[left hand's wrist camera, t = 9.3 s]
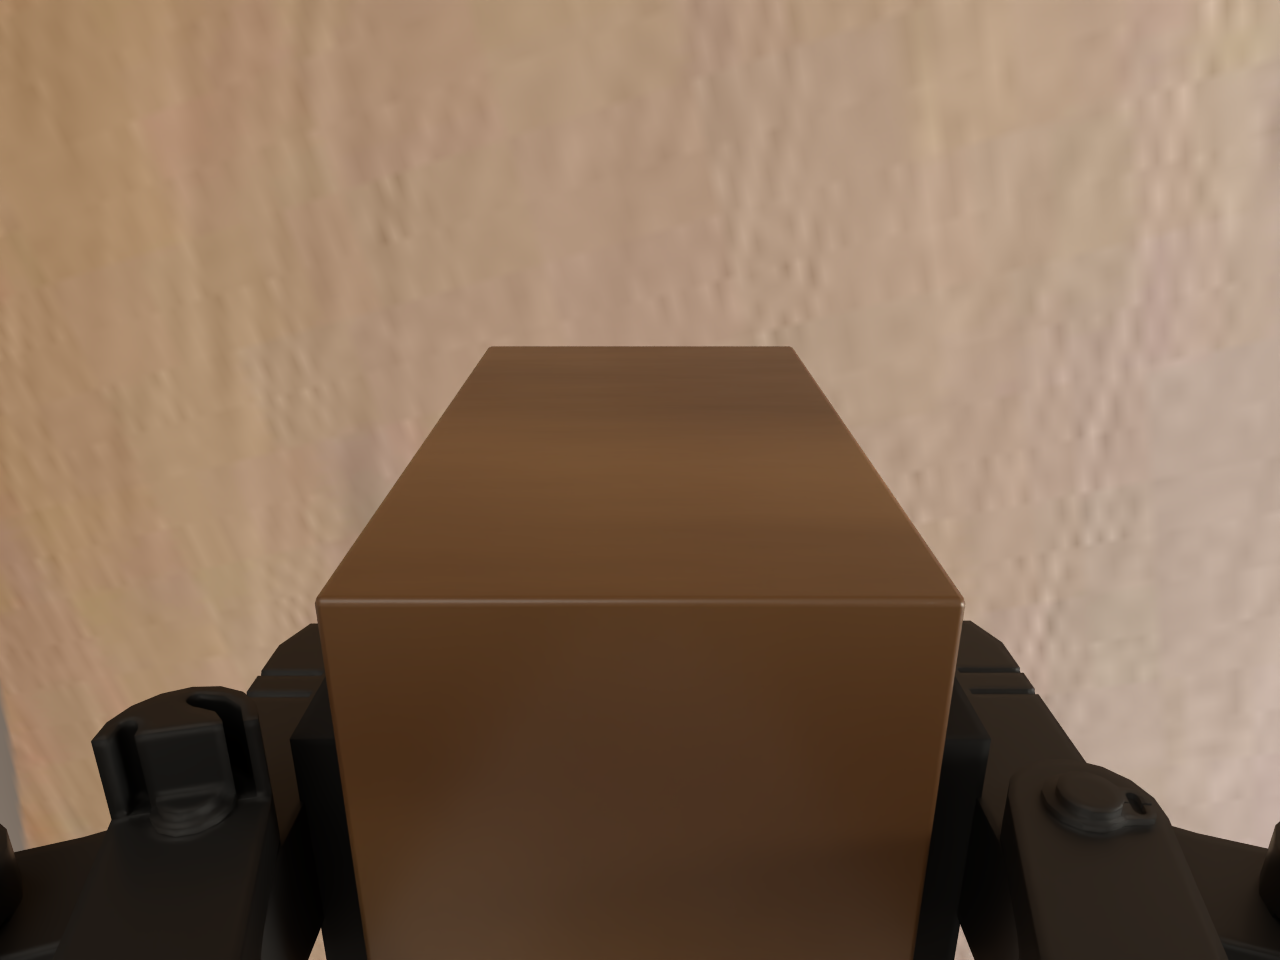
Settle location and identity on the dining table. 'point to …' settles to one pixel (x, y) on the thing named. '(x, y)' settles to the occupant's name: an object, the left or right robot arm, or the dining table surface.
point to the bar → (640, 672)
